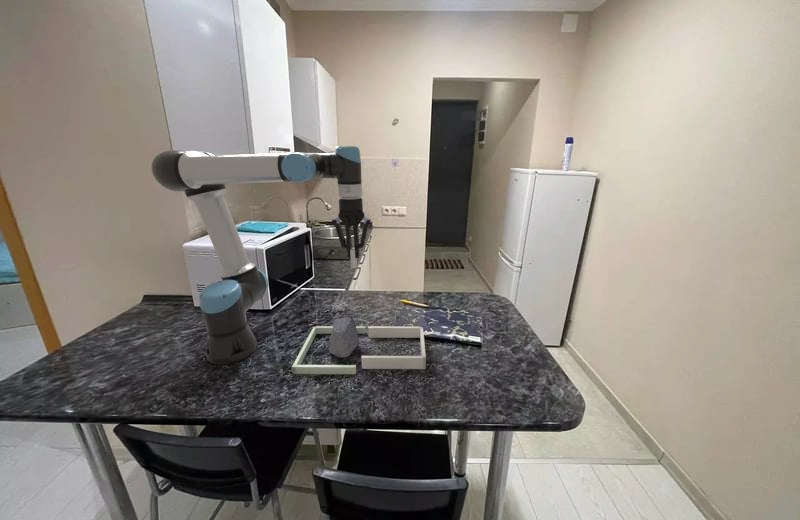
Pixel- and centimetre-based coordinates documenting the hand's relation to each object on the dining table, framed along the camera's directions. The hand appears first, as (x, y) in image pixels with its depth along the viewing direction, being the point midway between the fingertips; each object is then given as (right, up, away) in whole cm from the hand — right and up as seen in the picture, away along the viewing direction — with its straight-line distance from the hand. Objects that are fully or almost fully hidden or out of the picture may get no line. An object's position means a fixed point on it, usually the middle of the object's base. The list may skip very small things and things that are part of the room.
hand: (354, 266), depth 105 cm
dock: (+14, -28, -3) cm, 32 cm away
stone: (-3, -28, -3) cm, 29 cm away
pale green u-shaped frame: (-7, -28, -3) cm, 29 cm away
